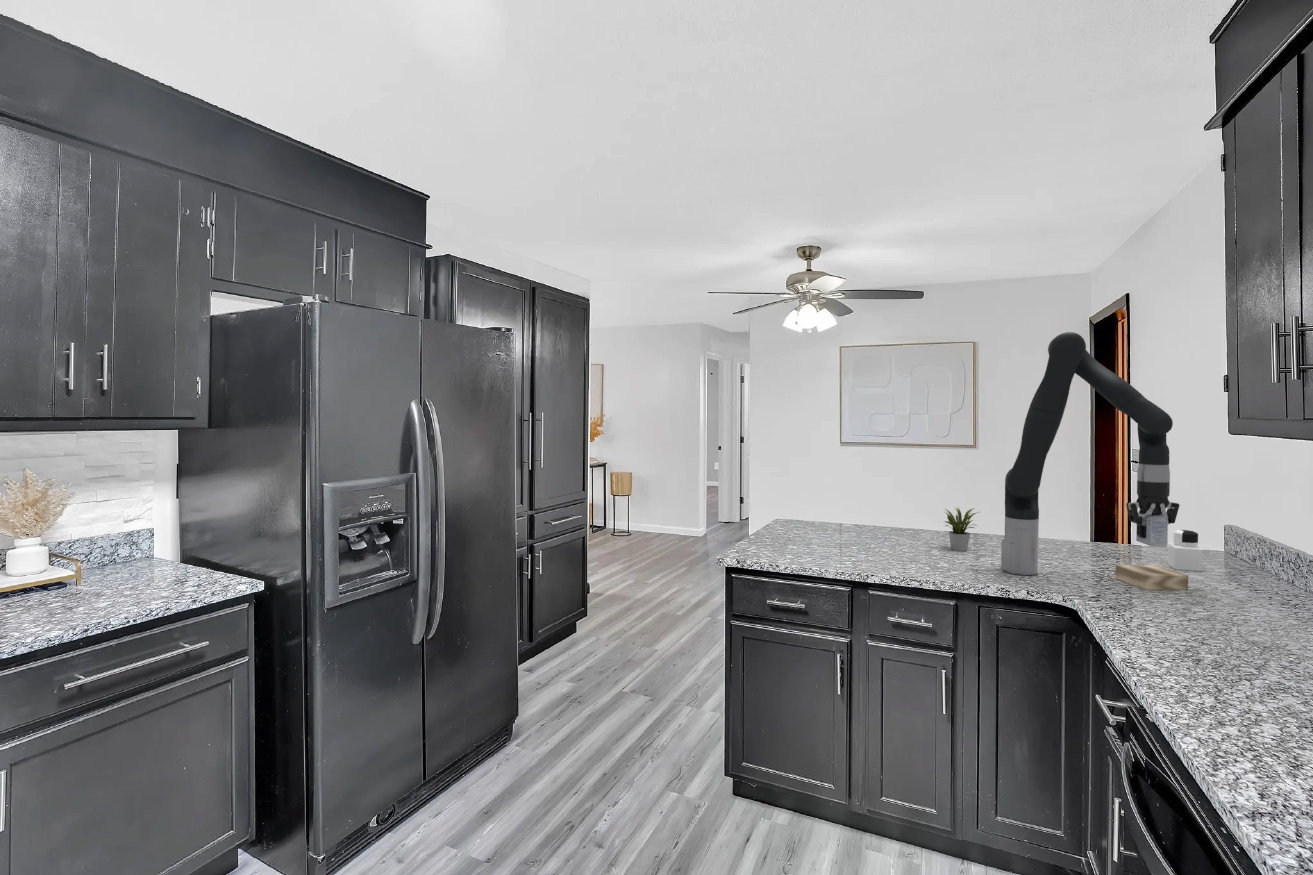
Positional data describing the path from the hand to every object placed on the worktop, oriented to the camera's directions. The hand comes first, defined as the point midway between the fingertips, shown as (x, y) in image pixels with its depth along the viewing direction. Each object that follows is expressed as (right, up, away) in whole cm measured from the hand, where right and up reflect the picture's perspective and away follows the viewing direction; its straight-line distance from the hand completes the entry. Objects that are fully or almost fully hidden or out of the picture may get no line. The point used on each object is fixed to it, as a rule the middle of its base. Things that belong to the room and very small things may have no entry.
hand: (1151, 537), depth 187 cm
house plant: (-33, -12, +46) cm, 58 cm away
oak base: (0, -14, +1) cm, 14 cm away
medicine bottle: (+24, -13, +18) cm, 33 cm away
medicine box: (0, -2, 0) cm, 2 cm away
